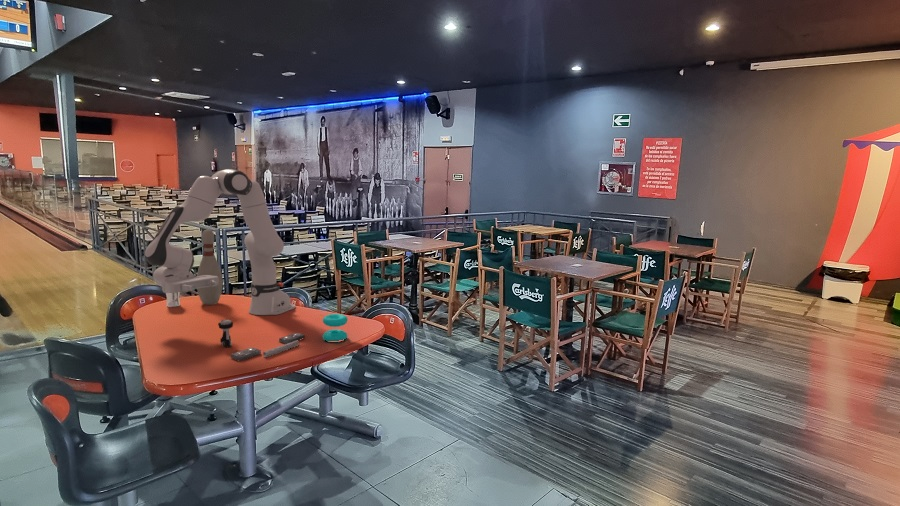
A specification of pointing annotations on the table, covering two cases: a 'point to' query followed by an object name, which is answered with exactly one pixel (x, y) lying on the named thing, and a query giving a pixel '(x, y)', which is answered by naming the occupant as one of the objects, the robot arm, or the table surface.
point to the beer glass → (173, 299)
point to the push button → (225, 332)
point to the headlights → (289, 343)
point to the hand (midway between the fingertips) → (204, 286)
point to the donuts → (335, 321)
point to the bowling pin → (209, 270)
